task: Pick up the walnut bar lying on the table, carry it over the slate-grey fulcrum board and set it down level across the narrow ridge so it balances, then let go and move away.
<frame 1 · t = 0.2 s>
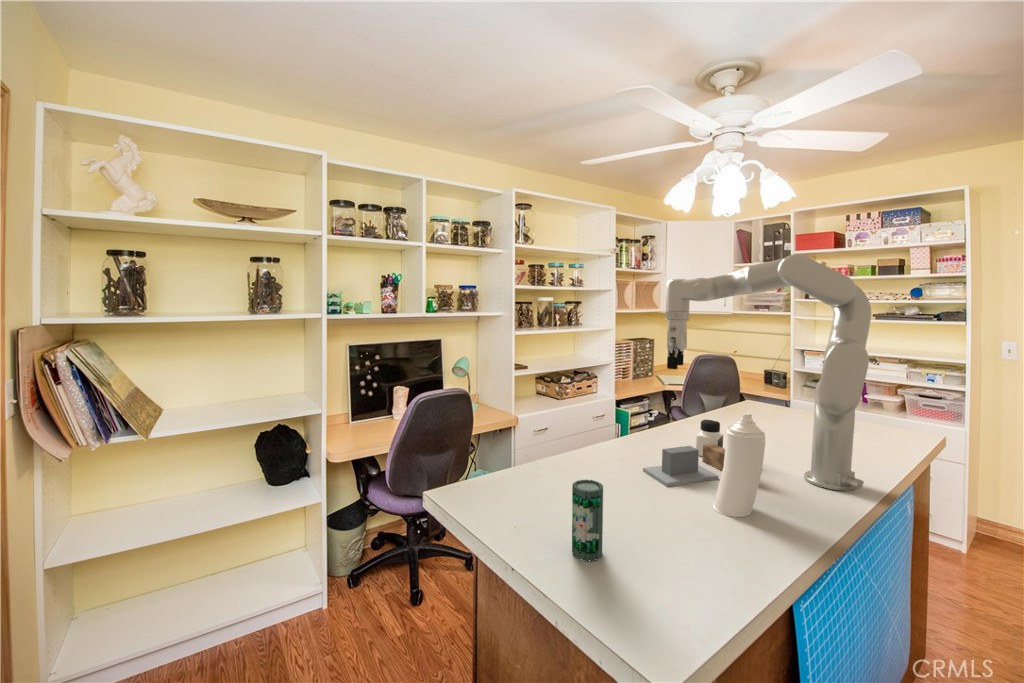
hand: (675, 366, 153), 31 cm above the table, tool pointing down, fingers open, 9 cm apart
walnut bar: (727, 471, 141), on the table
spray can: (737, 508, 117), on the table
can: (587, 553, 97), on the table
medicine bottle: (709, 455, 156), on the table
fulcrum: (679, 474, 138), on the table
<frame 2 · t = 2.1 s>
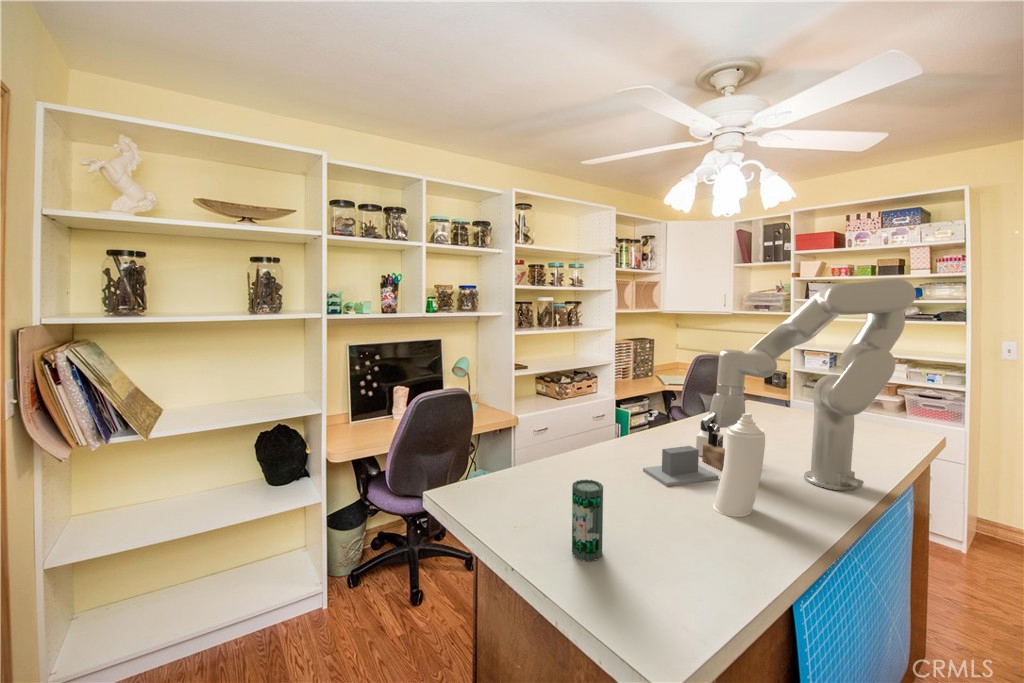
hand: (725, 444, 141), 9 cm above the table, tool pointing down, fingers open, 9 cm apart
nothing on the table moved.
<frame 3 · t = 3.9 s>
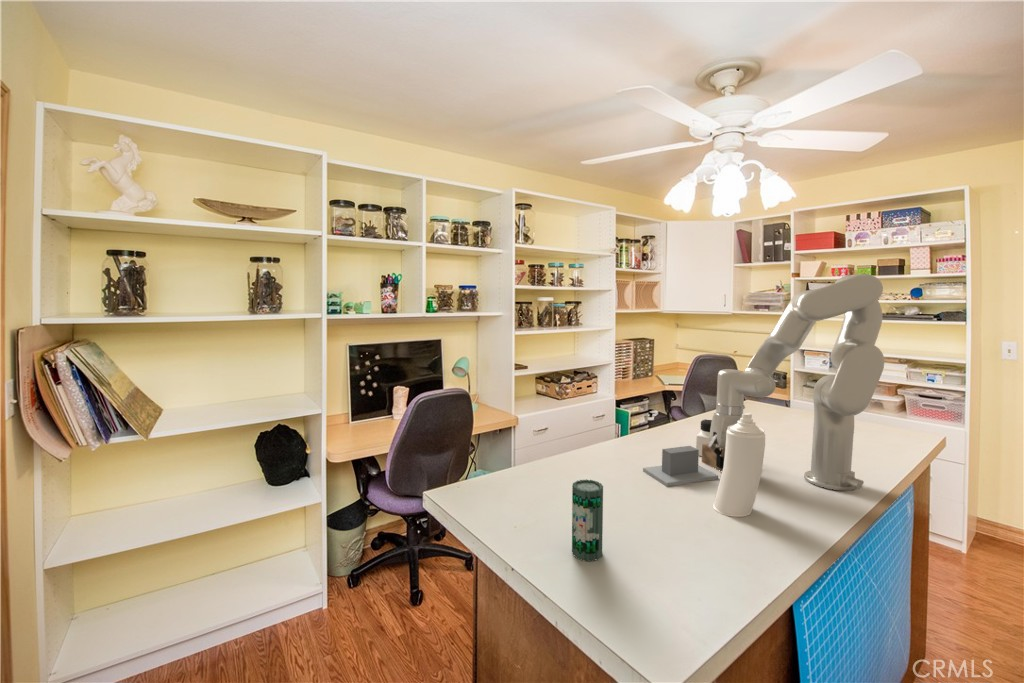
hand: (726, 466, 141), 1 cm above the table, tool pointing down, fingers closed on walnut bar, 4 cm apart
walnut bar: (726, 471, 141), on the table, touching gripper
everything else where it was.
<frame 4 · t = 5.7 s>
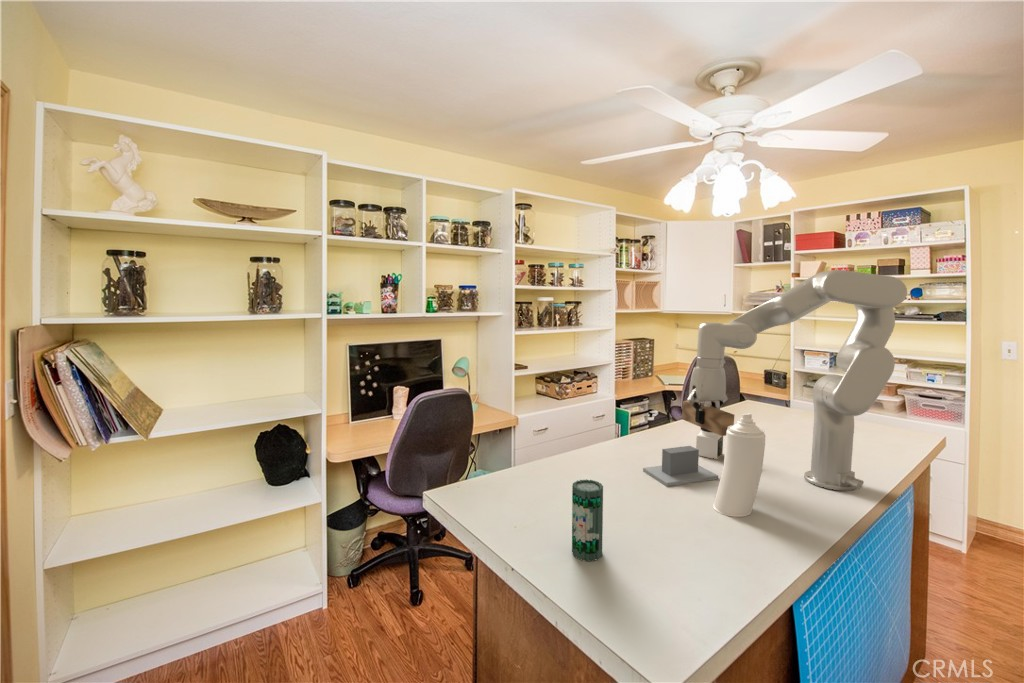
hand: (706, 421, 139), 16 cm above the table, tool pointing down, fingers closed on walnut bar, 4 cm apart
walnut bar: (706, 426, 139), point 15 cm above the table, touching gripper
everything else where it was.
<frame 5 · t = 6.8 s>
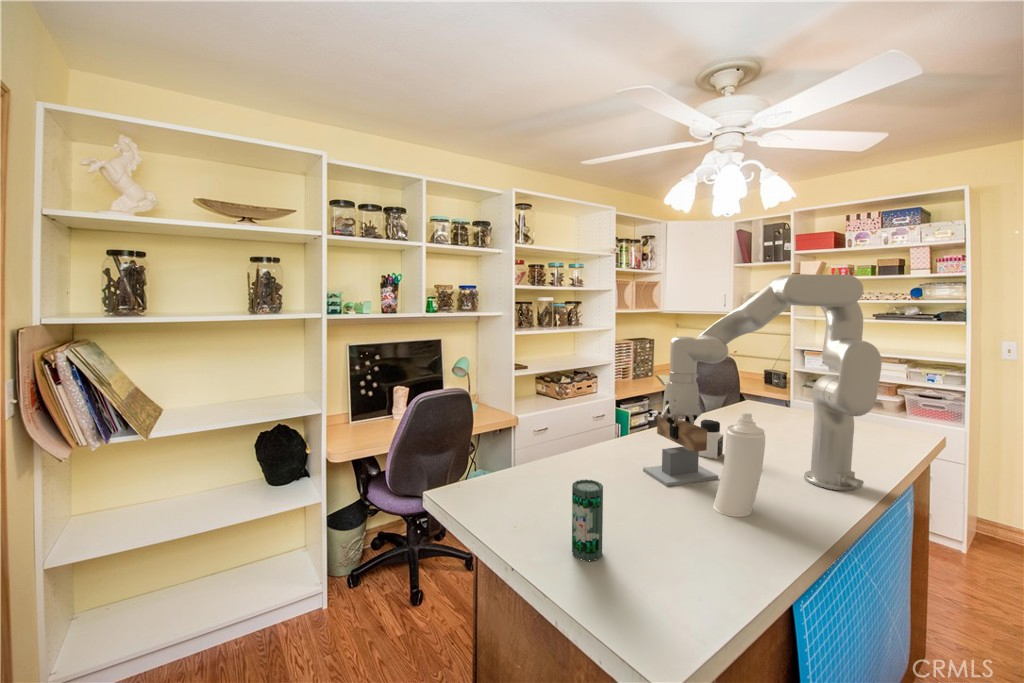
hand: (680, 436, 137), 12 cm above the table, tool pointing down, fingers closed on walnut bar, 4 cm apart
walnut bar: (680, 441, 137), point 11 cm above the table, touching gripper
everything else where it was.
when the fingers open (10 cm above the table, at t = 7.8 s): walnut bar stays where it is, resting on fulcrum.
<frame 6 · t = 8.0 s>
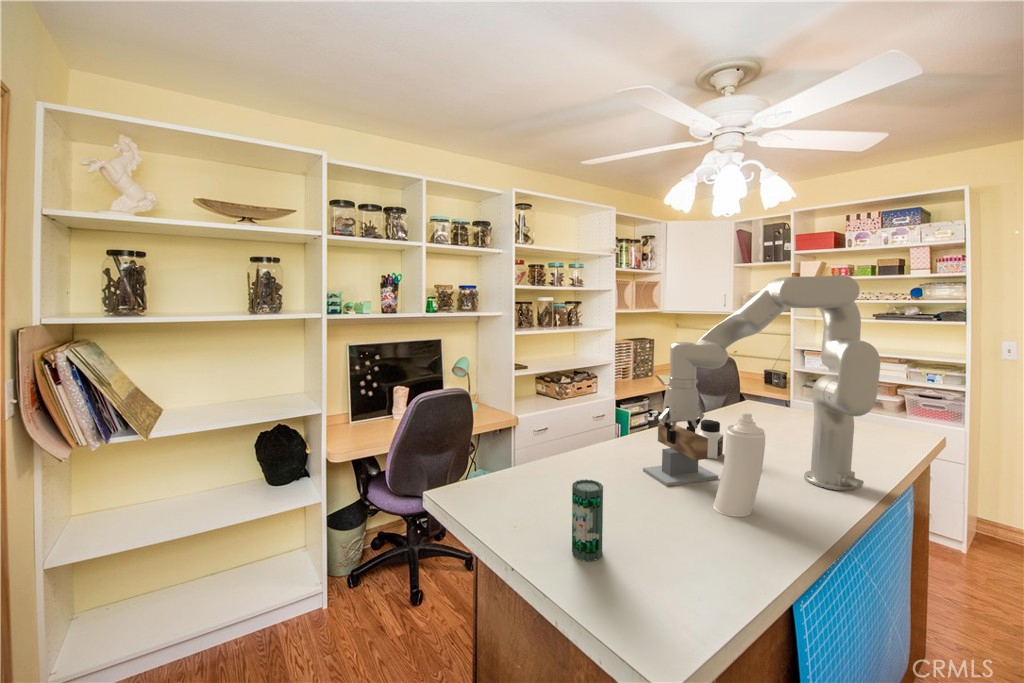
hand: (680, 441, 137), 11 cm above the table, tool pointing down, fingers open, 6 cm apart
walnut bar: (681, 449, 138), point 8 cm above the table, touching fulcrum
everything else where it was.
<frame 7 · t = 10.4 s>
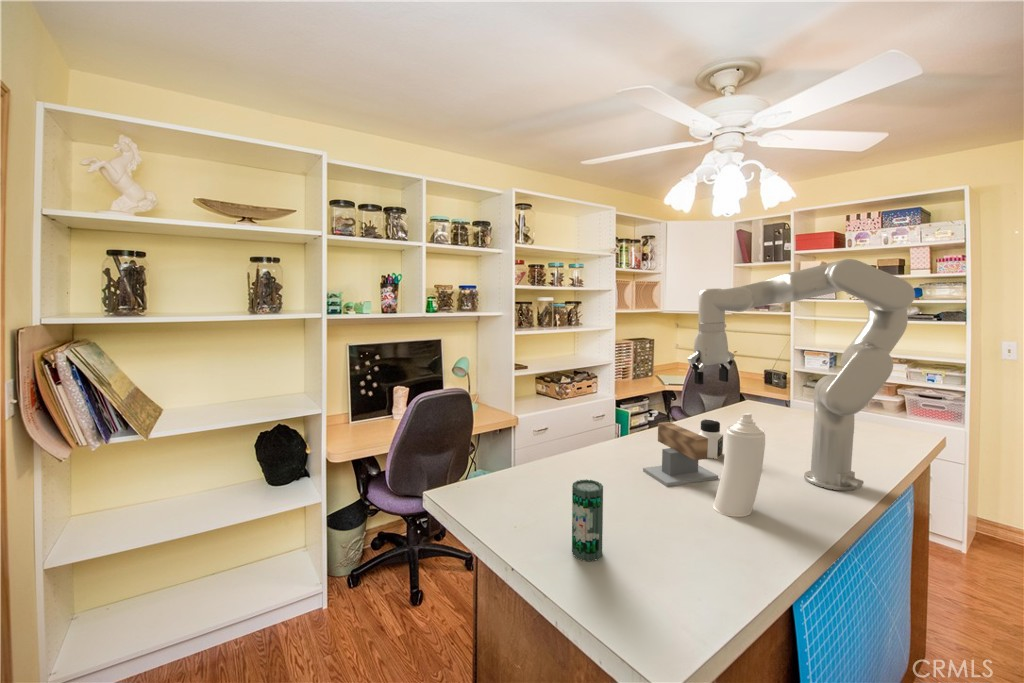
hand: (711, 382, 143), 27 cm above the table, tool pointing down, fingers open, 9 cm apart
nothing on the table moved.
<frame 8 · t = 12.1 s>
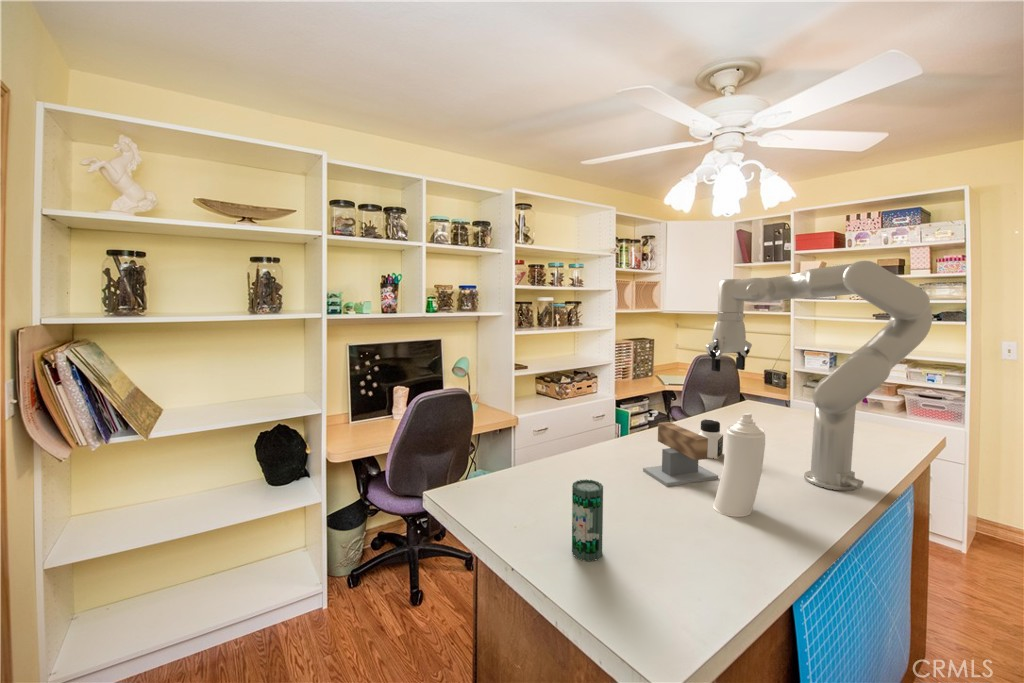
hand: (728, 370, 148), 30 cm above the table, tool pointing down, fingers open, 9 cm apart
nothing on the table moved.
at the end: walnut bar inside the target area on the fulcrum (0.1 cm from its centre), point 8.0 cm above the fulcrum's base; walnut bar tilted 0°; walnut bar touching fulcrum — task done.
